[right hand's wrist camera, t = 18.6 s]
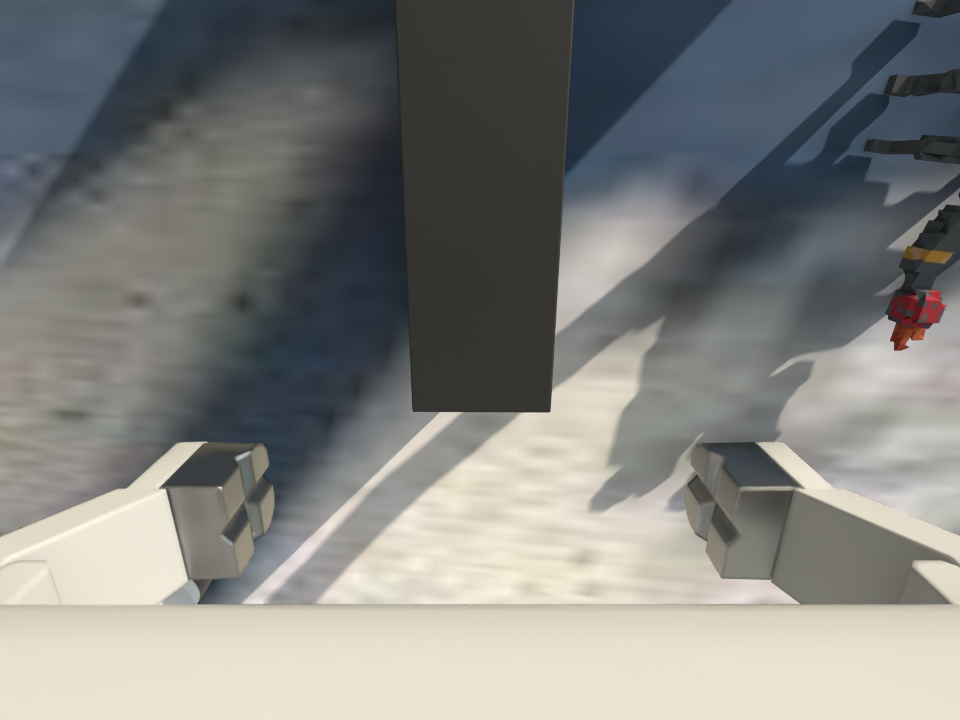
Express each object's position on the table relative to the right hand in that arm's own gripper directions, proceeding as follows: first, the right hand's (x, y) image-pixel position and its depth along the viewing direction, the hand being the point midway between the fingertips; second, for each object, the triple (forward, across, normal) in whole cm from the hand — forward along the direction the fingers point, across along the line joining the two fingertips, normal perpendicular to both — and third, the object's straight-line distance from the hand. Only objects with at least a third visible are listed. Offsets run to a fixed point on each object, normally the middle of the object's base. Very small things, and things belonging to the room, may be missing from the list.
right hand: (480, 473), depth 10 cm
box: (+23, 0, -6) cm, 24 cm away
